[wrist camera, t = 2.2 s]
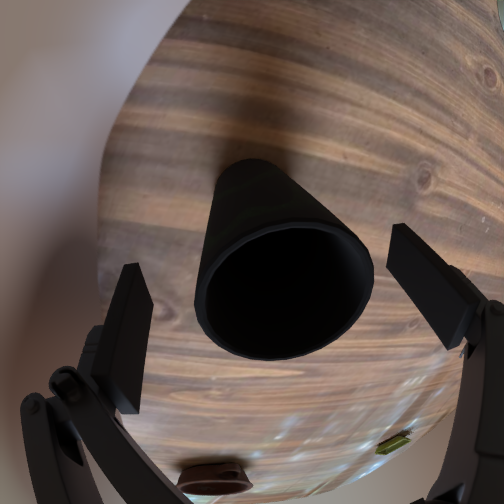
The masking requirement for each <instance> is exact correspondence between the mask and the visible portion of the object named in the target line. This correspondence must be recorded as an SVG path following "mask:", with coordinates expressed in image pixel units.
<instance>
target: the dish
mask: <svg viewBox="0 0 504 504" xmlns="http://www.w3.org/2000/svg"><path fill="white" fill-rule="evenodd" d="M176 487H177V488H178V489H179V490H180V491H181V492H182V493H185V494H192V495H207V496H218V495H230V494H237V493H242V492H245V491H247V490H249V489H251V488H252V487H253V484H252V483H250V481H249V479H248V478H247V475H246V474H245V472H244V471H243V470H242V469H240V466H239V464H236V463H229V464H222V465H203V466H196V467H192V468H189V469H186V470H184V471H183V472H182V473H181V475H180V477H179V480H178V483H177V485H176Z"/></svg>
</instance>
